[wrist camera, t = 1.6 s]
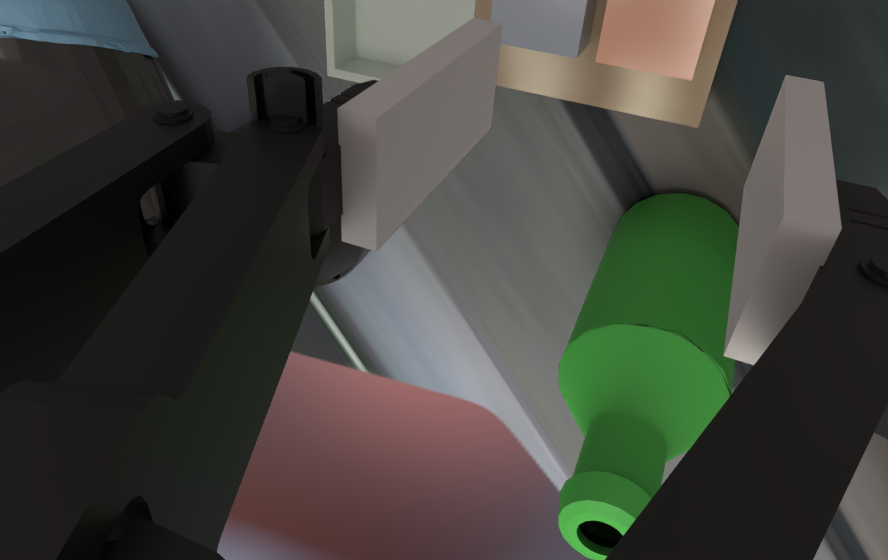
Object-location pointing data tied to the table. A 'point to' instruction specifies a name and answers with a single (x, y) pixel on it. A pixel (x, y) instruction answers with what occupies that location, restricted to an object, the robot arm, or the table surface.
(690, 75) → the tile terracotta
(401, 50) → the box
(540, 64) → the bench plate
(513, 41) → the tile slate
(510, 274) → the table surface
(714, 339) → the bottle
